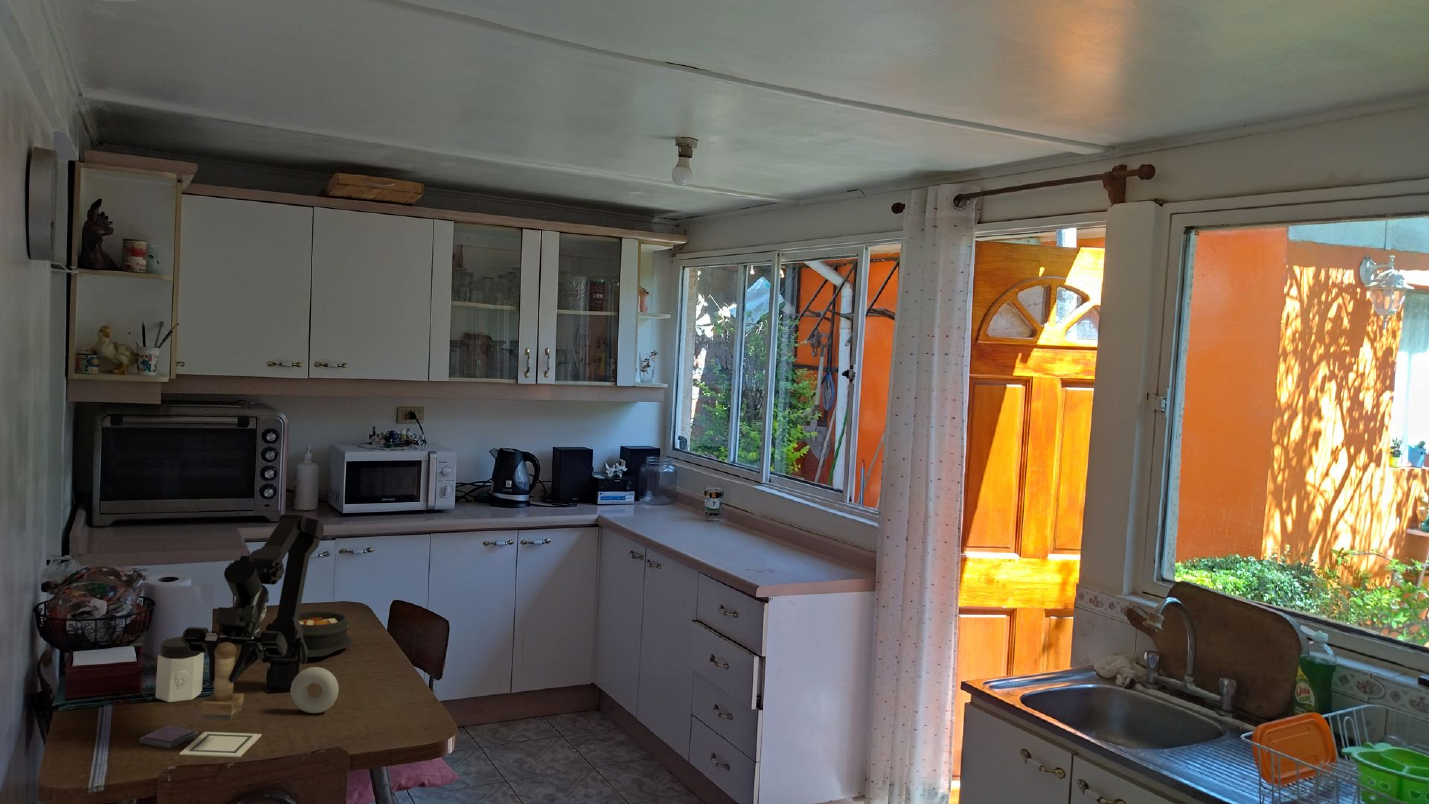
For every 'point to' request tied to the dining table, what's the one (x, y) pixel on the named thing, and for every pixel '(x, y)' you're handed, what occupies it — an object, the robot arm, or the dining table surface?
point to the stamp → (223, 687)
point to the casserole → (324, 632)
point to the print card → (220, 744)
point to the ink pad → (168, 737)
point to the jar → (178, 672)
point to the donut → (309, 702)
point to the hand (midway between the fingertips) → (220, 681)
